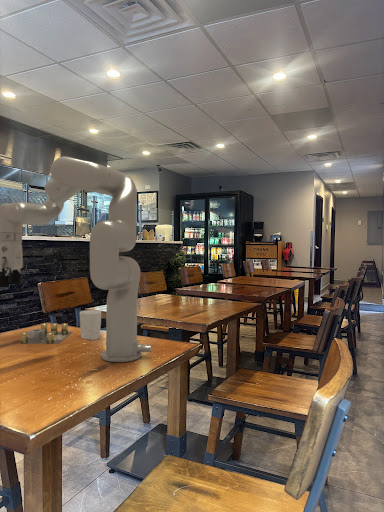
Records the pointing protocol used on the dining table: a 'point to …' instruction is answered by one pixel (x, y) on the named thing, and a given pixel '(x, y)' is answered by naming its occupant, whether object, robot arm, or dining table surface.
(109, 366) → the dining table surface
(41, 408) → the dining table surface
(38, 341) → the jig plate
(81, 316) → the white cup
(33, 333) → the steel nut
